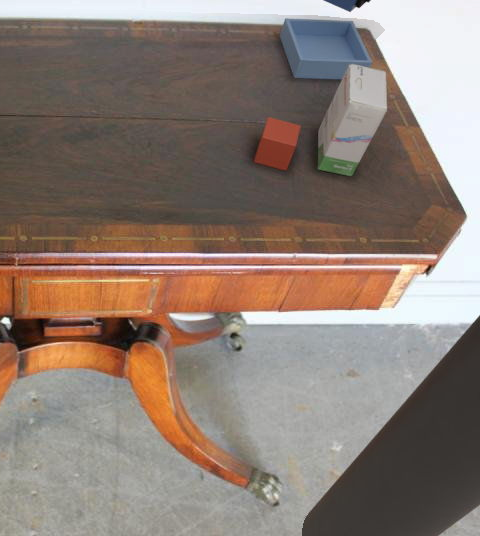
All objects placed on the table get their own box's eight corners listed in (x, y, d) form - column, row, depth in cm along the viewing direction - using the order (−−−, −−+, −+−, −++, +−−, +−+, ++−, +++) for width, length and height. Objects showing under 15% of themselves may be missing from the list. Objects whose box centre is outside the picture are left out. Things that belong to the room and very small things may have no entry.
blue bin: (345, 38, 118) (353, 20, 115) (364, 80, 111) (372, 62, 108) (279, 36, 117) (285, 18, 115) (293, 78, 110) (300, 59, 108)
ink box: (317, 131, 103) (346, 60, 93) (354, 138, 102) (386, 68, 93) (316, 170, 97) (346, 100, 88) (354, 178, 97) (389, 108, 88)
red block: (291, 150, 100) (301, 125, 96) (286, 171, 97) (296, 146, 93) (259, 141, 100) (268, 116, 97) (253, 162, 98) (262, 136, 94)
